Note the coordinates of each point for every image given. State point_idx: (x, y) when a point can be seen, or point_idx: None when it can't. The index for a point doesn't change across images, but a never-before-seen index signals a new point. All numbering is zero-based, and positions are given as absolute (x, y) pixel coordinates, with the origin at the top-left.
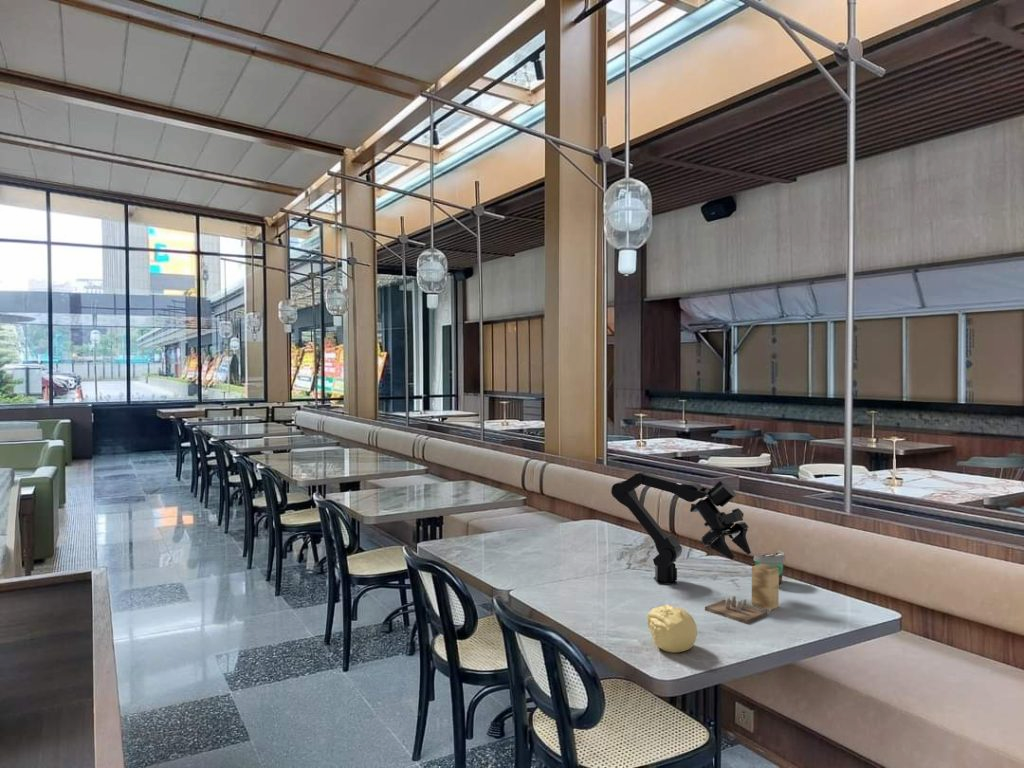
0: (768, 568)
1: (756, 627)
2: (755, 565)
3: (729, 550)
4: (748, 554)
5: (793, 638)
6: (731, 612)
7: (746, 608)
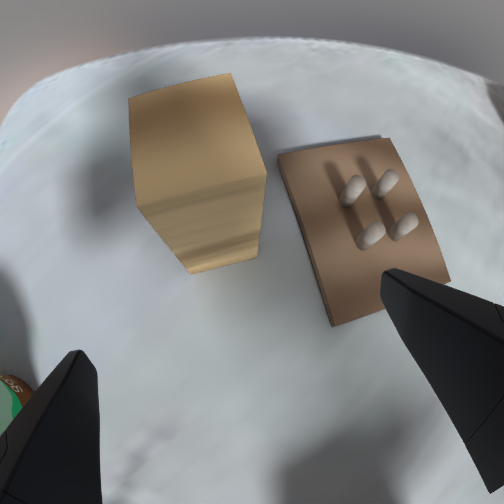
0: (193, 105)
1: (372, 118)
2: (219, 181)
3: (454, 299)
4: (95, 369)
5: (325, 55)
6: (400, 200)
7: (329, 206)
